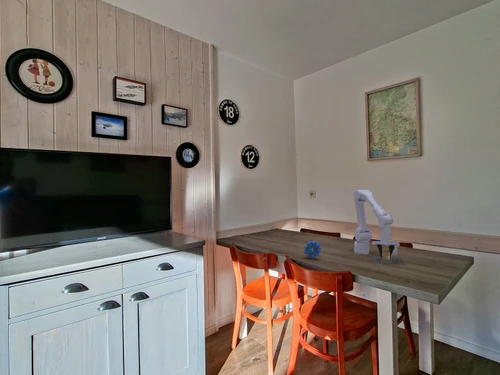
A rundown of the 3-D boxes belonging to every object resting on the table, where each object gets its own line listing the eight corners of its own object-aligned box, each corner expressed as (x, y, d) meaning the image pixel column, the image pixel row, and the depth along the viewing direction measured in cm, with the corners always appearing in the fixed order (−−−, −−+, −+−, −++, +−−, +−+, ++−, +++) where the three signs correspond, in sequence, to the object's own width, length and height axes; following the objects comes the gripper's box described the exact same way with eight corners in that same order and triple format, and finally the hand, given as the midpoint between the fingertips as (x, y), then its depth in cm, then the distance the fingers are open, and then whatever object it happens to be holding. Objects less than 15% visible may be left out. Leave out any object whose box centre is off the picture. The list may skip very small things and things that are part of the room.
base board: (374, 264, 157) (374, 260, 157) (370, 257, 172) (370, 254, 172) (404, 266, 152) (404, 263, 152) (398, 259, 167) (398, 255, 167)
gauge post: (391, 258, 164) (391, 246, 164) (390, 257, 167) (390, 244, 167) (397, 259, 163) (397, 246, 163) (396, 257, 166) (396, 245, 166)
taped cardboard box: (382, 260, 158) (382, 251, 158) (381, 258, 162) (381, 250, 162) (390, 260, 157) (389, 252, 157) (388, 258, 161) (388, 250, 161)
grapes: (323, 258, 172) (322, 239, 171) (320, 260, 166) (320, 241, 165) (305, 256, 177) (305, 238, 177) (302, 258, 171) (302, 240, 171)
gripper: (373, 235, 158) (373, 258, 158) (400, 236, 153) (400, 260, 153) (371, 233, 164) (371, 255, 165) (397, 234, 160) (398, 256, 160)
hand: (385, 257), depth 159 cm, fingers closed on taped cardboard box, 4 cm apart
